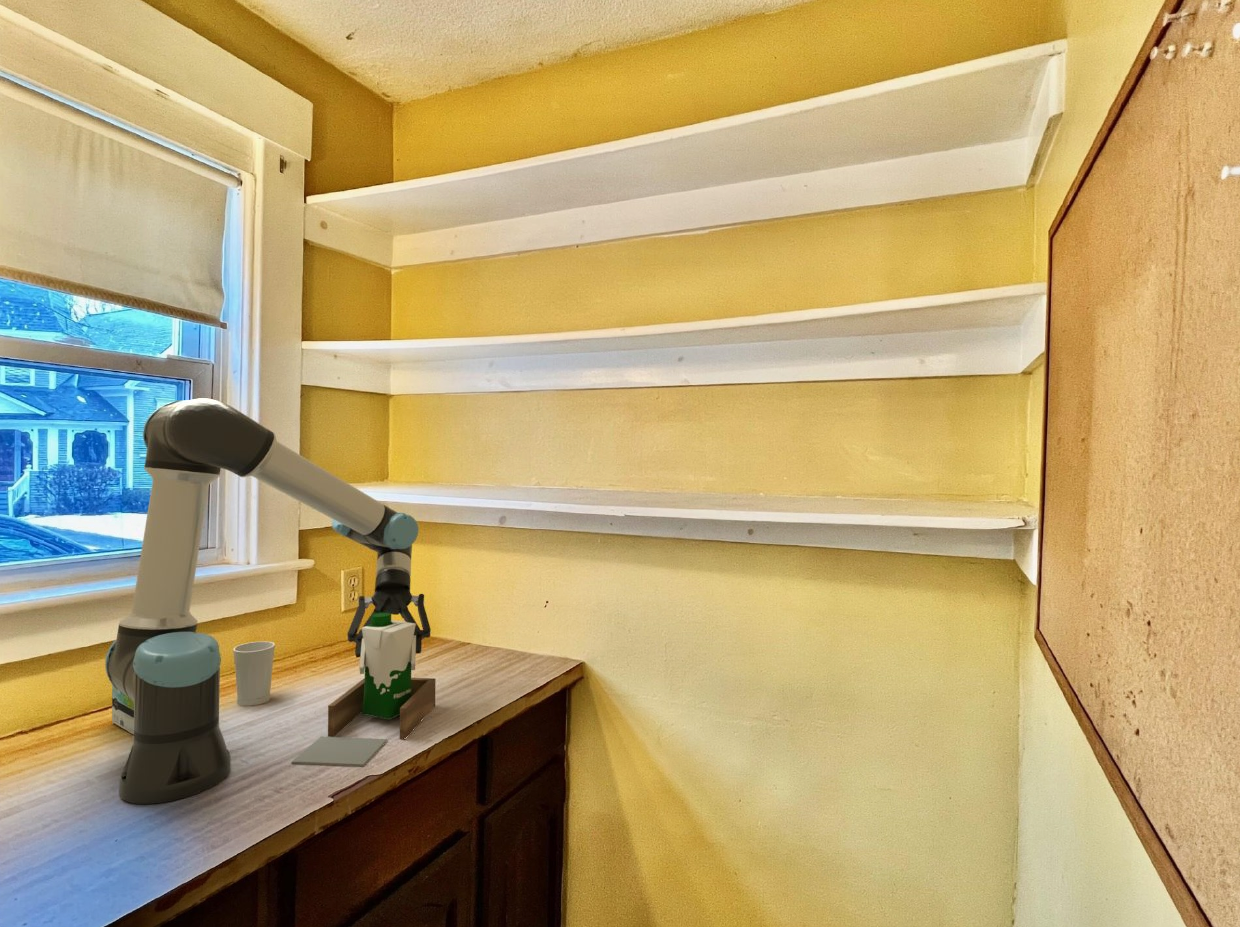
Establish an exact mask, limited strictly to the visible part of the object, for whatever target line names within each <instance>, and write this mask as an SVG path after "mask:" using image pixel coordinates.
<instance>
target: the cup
mask: <svg viewBox="0 0 1240 927" xmlns="http://www.w3.org/2000/svg"><path fill="white" fill-rule="evenodd" d="M275 645H276V643H275V642H272V641H268V640H267V641H266V640H265V641H251V642H246V643H242V644H239V645H236V646H234V647H233V649H232V651H233V659H234V669H235V671H234V672H235V684H236V696H237V697H236V705H238V706H241V707H251V706H252V705H253V706H257V705H263V704H265V703H267V702H269V701H270V699H271V689H272V688H271V687H272V675H273V665H274V664H273V663H274V656H275V655H274V654H275V648H276V646H275ZM266 701H267V702H266ZM253 706H252V707H253Z"/></svg>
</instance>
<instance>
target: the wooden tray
mask: <svg viewBox="0 0 1240 927" xmlns="http://www.w3.org/2000/svg"><path fill="white" fill-rule="evenodd" d="M364 685H365V677H364V678H363V679H362V680H360V681H359V682H357V683H356V684H355V685H353V686H352V687H351V688H349V689H348V690H347V691H346V692H344V693H343V694H341V696H339V697H338V698H336V699H335V700H334V701H332V702H331V703H330V704H328V705H327V708H328V709H327V737H336V735H338V734H339V733H340V732H341V731H342V730H343V729H344V728H345V727H347V726H348V725H349V724H350V723H351V722H352V721H354V720H355V719H356V718H357V717H358V716H360V714H362V713H361V712H362V710H363V699H364ZM411 694H412V697H411V698H410V699H409V700H408V701H407V702H406V703H405V704H404V705H403V706H402V707H401V708H400V714H399V740H405V739H404V738H406V737H407V736H408V735H409V734H410V733H411V732H412V731H413V732H414V730H415V729H416V728H417V727H418V726H419V725H420V724H421V723H422V721H423V720H424V719H425V718H426V717H427V716H428V715H429V713H431V711H432V710H433V709H434V708H435V707H434V706H436V678H427V677H411ZM433 707H434V708H433ZM431 709H432V710H431ZM430 710H431V711H430ZM427 714H428V715H427ZM426 715H427V716H426ZM425 716H426V717H425ZM424 717H425V718H424ZM354 718H355V719H354ZM423 718H424V719H423ZM353 719H354V720H353ZM422 719H423V720H422ZM421 720H422V721H421ZM419 723H420V724H419ZM418 724H419V725H418ZM417 725H418V726H417ZM416 726H417V727H416ZM415 727H416V728H415ZM414 728H415V729H414ZM413 729H414V730H413ZM413 732H412V733H413ZM337 733H338V734H337ZM412 733H411V734H412ZM411 734H410V735H411ZM410 735H409V736H410ZM409 736H408V737H409ZM408 737H407V738H408ZM407 738H406V739H407Z"/></svg>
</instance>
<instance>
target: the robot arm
mask: <svg viewBox="0 0 1240 927" xmlns="http://www.w3.org/2000/svg"><path fill="white" fill-rule="evenodd" d="M145 420H146V421H145V422H144V425H143V430H142V437H143V442H144V445H145V447H146V453H145V454H146V455H145V461H144V471H146V473H147V474H148V475H149V476H150V477H151V480H152V484H151V488H150V496H149V503H148V509H147V514H146V521H145V527H144V533H143V539H142V546H141V552H140V557H139V564H138V571H137V577H136V583H135V588H134V589H135V590H134V597H133V601H132V608H131V612H130V613H129V614H127V616H125V617H123V618H122V619H121V620H120V621H119V622H118V628H117V634H116V639H115V640H114V641H113V642H112V644H111V645H110V647H109V648H108V650H107V653H106V656H105V664H104V665H105V671H106V675H107V678H108V680H109V681H110V684H111V685H112V684H113V686H114V687H115V688H117V689H118V690H119V691H120V692H122V693H124V694H125V695H126V696H127V697H128V698H130V699H131V700H132V701H133V702H134V734H133V744H132V746H131V749H130V752H129V753H128V757H127V760H126V761H125V765H124V768H123V770H122V773H121V775H120V777H119V797H120V798H121V800H123V801H125V802H128V803H131V804H136V805H137V804H139V805H151V804H159V803H167V802H172V801H177V800H180V799H184V798H188V797H190V796H194V795H196V794H199V793H201V792H204V791H206V790H208V789H210V788H212V787H214V786H216V785H218V784H219V783H220V782H221V781H223V780H224V779H225V778H227V776H228V775H229V773H230V772H231V760H232V759H231V753H230V752H229V750H228V747H227V745H226V742H225V738H224V736H223V733H222V730H221V728H220V688H221V687H220V686H221V685H220V680H221V679H220V678H221V676H220V675H221V669H220V668H221V663H222V657H221V655H222V654H221V652H220V645H219V641H217V640H216V638H215V637H213V635H211V634H207V633H204V632H197V627H198V619H197V618H196V617H195V616H193V614H192V613H191V611H190V609H191V602H192V598H193V589H194V583H195V578H196V577H195V576H196V570H197V564H198V557H199V551H200V544H201V538H202V530H203V525H204V518H205V511H206V507H207V506H206V505H207V497H208V492H209V485H210V484H211V483H212V482H213V481H215V480H216V479H218V478H220V476H221V475H220V474H221V469H223V470H226V471H229V472H230V473H232V474H234V475H237V476H239V477H241V478H246V477H253V478H255V479H257V480H259V481H261V482H262V483H265V484H266V485H268V486H269V487H272V488H274V489H276V490H277V491H279V492H281V493H284V494H285V495H287V496H288V497H291V498H292V499H294V500H297V502H298V501H299V502H300V503H302V504H304V505H306V506H308V507H309V508H311V509H313V510H316V511H317V512H319V513H321V514H323V515H324V516H327V517H329V518H330V519H332V520H331V527H332V530H333V531H335V532H336V533H338V534H340V535H341V536H342V537H343V538H347V539H349V540H351V541H354V542H355V543H358V544H360V545H362V546H364V547H366V548H368V549H369V550H372V551H374V552H375V553H377V554H376V555H377V558H376V560H377V561H376V572H375V573H376V574H375V576H376V577H375V583H374V593H373V595H372V596H371V597H370V596H369V597H365V595H364V596H363V595H360V596H358V605H357V606H358V607H357V608H356V611H355V614H354V616H353V618H352V621H351V624H350V626H349V629H348V630H347V640H348V642H349V643H352V642H353V643H355V649H354V650H355V651H354V653H355V654H354V655H355V658H359V674H360V675H362V674H364V675H365V644H364V639H363V634H362V627H365V626H367V625H369V624H371V615H372V614H374V613H380V612H388V613H391V615H395V616H397V615H400V617H401V618H402V619H403V621H406V622H408V623H415V624H416V626H415V631H414V636H413V641H412V660H411V671H415V670H416V658H417V657H416V654H421V653H422V646H423V645H422V641H423V639H424V638H426V639H427V638H431V625H430V622H429V619H428V615H427V611H426V608H425V594H424V593H419V594H418V595H413V594H412V593H411V581H412V580H411V577H412V576H411V575H412V574H411V573H412V551H413V550H412V549H413V544H414V543H415V542H416V540H417V538H418V536H419V530H420V529H419V525H418V524H419V523H418V522H417V520H416V519H415V518H414V517H413V516H412V515H409V514H406V513H405V512H397V511H395V510H393V509H392V508H390V507H389V506H387V505H384V504H383V503H381V502H380V501H378V500H377V499H375V498H374V497H372V496H370V495H368V494H366V493H364V492H363V491H361V490H360V489H358V488H357V487H355V486H353V485H351V484H350V483H349V482H347V481H345V480H343V479H341V478H339V477H338V476H336V475H335V474H333V473H331V472H330V471H328V470H326V469H324V468H323V467H321V466H320V465H318V464H316V463H314V462H313V461H311V460H310V459H307V458H306V457H304V456H302V455H301V454H299V453H297V452H296V451H294V450H293V449H290V447H289V448H288V447H287V446H286V445H284V444H282V443H280V442H279V441H278V440H277V436H276V433H275V432H273V431H271V430H270V429H269V428H266V427H265V426H263V425H262V424H260V423H258V421H256V420H254V419H252V418H251V417H250V416H247V415H246V414H244V413H242V411H240V410H238V409H236V408H234V407H233V406H231V405H228V404H227V403H225V402H223V401H221V400H220V401H219V400H217V399H213V398H212V399H211V398H206V397H205V398H194V399H189V400H188V399H187V400H183V399H181V400H174V401H171V402H168V403H165V404H163V405H161V406H160V407H158V408H156V410H153V412H152V413H151V414H149V416H148V417H147V419H145ZM412 602H413V604H414V606H415V607H417V612H418V616H419V619H420V623H421V628H422V629H420V626H419V625H418V623H417V622H416V620H415V618H414V617H413V615H412V614H411V612H410V610H409V607H408V606H409V605H410V604H411V603H412ZM371 604H372V605H373V606H374V609H373V611H372V612H371V614H370V616H369V617H368V619H367V620H366V621H365V623H364V624H363V625H362V627H360V626H361V624H362V621H363V618H364V616H365V613H366V609H368V608H369V606H370V605H371ZM360 628H361V629H360ZM359 629H360V630H359Z"/></svg>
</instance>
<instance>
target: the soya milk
mask: <svg viewBox="0 0 1240 927" xmlns="http://www.w3.org/2000/svg"><path fill="white" fill-rule="evenodd" d="M371 614H372V613H371ZM371 614H370V616H371V624H369V625H367V626H365V627H363V626H362V627H361V628H362V634H363V639H364V644H365V669H364V678H365V685H364V699H363V710H362V713H361V714H362V715H365V716H371V717H375V718H380V719H384V720H385V719H386V720H391V719H394V718H395V717H398V715H399V716H400V708H401V707H402V706H403V705H404V704H405V703H406V702H407V701H408V700H409V699H410V698H411V697H412V694H411V678H412V670H411V660H412V641H413V636H414V631H415V626H416V624H415V623H408V622H406V621H405V620H394V619H392V614H391V613H388V612H380V613H374V614H372V615H371Z"/></svg>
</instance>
